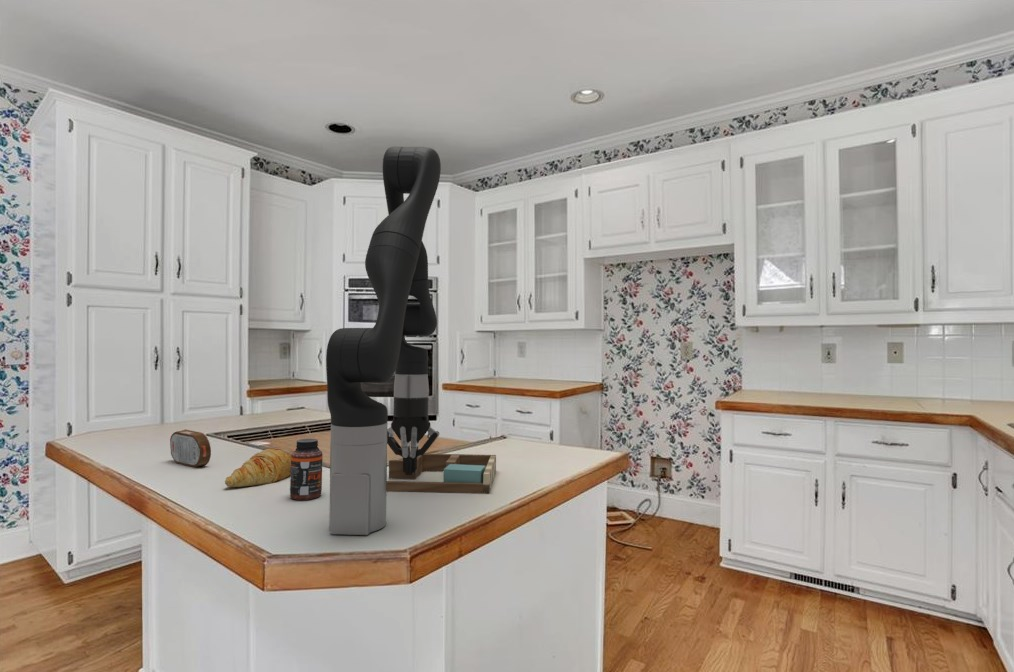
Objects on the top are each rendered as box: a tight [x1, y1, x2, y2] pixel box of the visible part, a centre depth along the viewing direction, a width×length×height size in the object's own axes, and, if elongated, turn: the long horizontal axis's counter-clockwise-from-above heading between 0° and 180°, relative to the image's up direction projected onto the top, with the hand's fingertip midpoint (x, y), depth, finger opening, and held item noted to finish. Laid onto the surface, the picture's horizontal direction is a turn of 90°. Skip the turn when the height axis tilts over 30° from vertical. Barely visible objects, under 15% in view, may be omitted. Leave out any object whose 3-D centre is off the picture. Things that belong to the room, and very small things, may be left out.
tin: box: [169, 429, 212, 468], centre depth 133 cm, size 15×3×8 cm, turn 58°
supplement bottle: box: [289, 438, 323, 501], centre depth 106 cm, size 6×6×11 cm
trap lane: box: [387, 453, 497, 494], centre depth 119 cm, size 19×24×4 cm
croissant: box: [224, 448, 292, 488], centre depth 120 cm, size 21×10×8 cm, turn 160°
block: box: [442, 464, 486, 483], centre depth 114 cm, size 5×8×4 cm, turn 80°
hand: (410, 474), depth 116 cm, fingers closed
